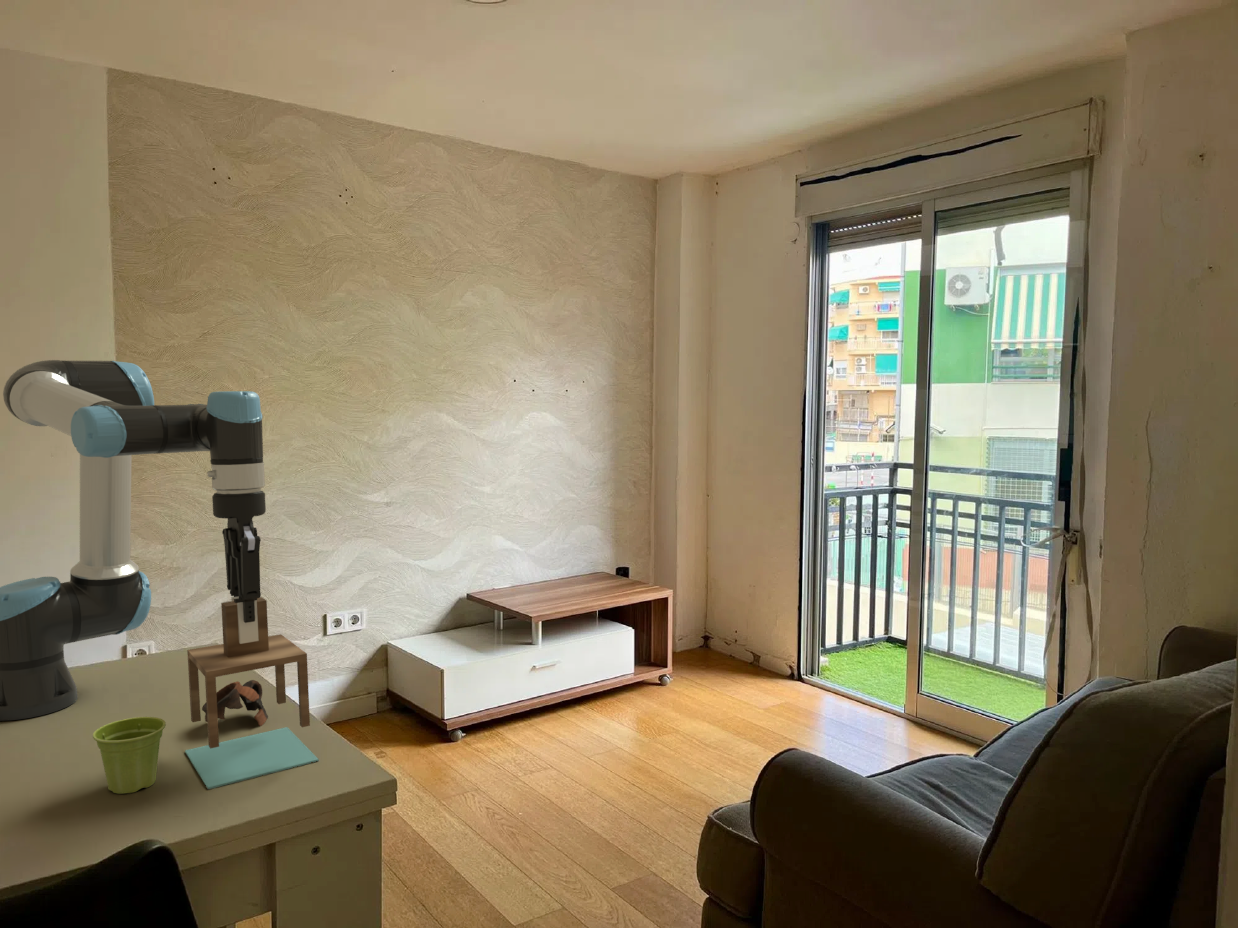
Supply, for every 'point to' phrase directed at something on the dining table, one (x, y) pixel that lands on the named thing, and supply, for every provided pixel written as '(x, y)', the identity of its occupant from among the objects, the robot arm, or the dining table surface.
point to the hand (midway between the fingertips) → (245, 638)
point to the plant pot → (130, 752)
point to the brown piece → (244, 665)
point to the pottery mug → (231, 699)
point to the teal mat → (249, 757)
